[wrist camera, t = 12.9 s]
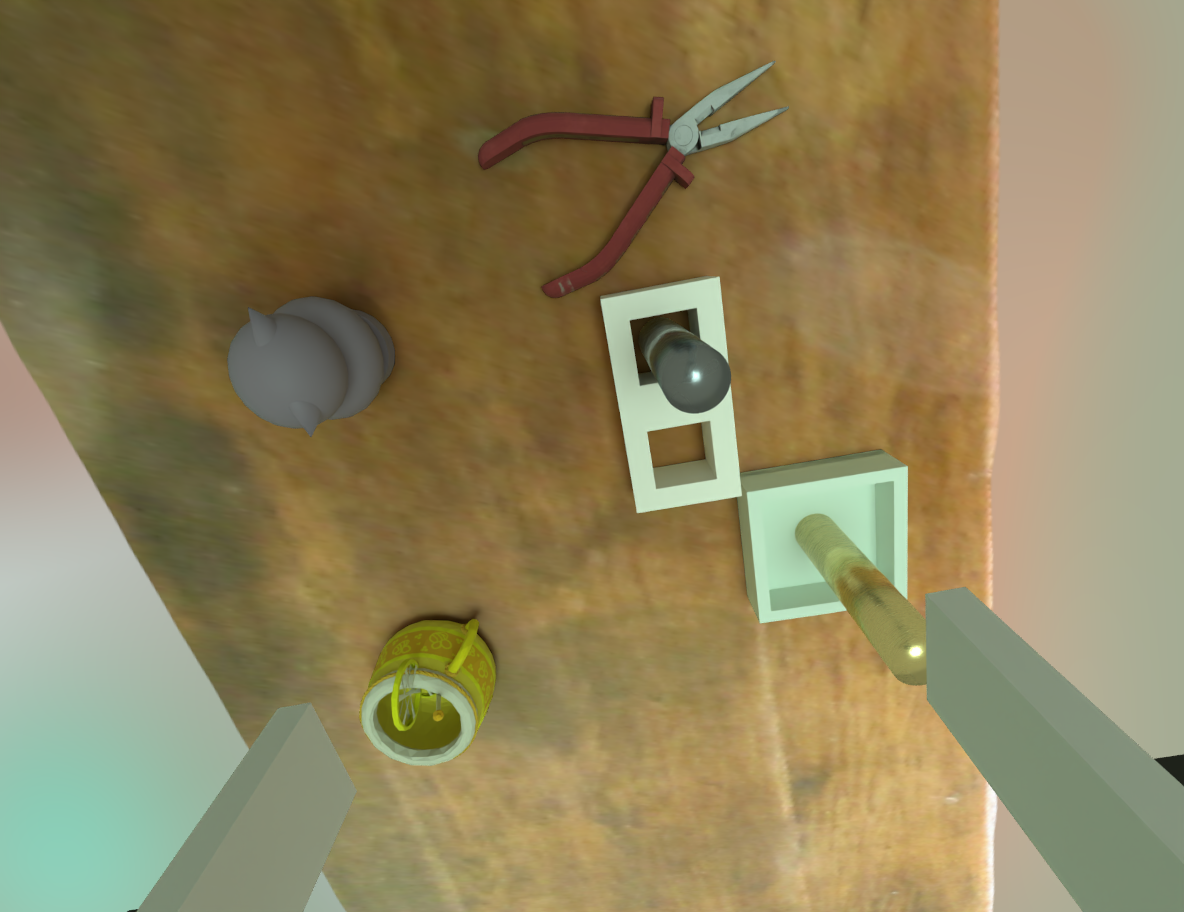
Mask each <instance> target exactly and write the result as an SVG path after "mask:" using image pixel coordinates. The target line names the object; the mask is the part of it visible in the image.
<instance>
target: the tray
mask: <svg viewBox="0 0 1184 912" xmlns="http://www.w3.org/2000/svg"><path fill="white" fill-rule="evenodd" d="M740 482H741V492H742V496H739V497H737V503H738V512H739V522H740V531H741V540H742V550H743V559H744V569H745V578H746V588H747V596H748V598H749V601H750V603H751V605H752V607H753V609H754V612H755V614H756V616H757V618H758V620H759V622H760V623H765V622H772V621H779V620H786V619H793V618H799V617H806V616H813V615H820V614H827V613H834V612H840V611H847V610H846V608H845V607H844V606H843V604H842V603H841V602H840V600H839V599H838V597H837V596H836V595H835V593H834V592H833V591H832V589H831V588H830V586H829V585H828V584H827V582H826V581H825V580H824V578H823V577H822V576H821V574H820V573H819V571H818V570H817V569H816V567H815V566H814V565H813V563H812V562H811V560H810V559H809V558H808V556H807V555H806V554H805V552H804V551H803V549H802V548H801V547H800V545H799V544H798V543H797V541H796V538H795V529H796V527H797V525H798V523H799V522H800V521H801V520H802V519H803V518H805V517H806V516H808V515H811V514H824V515H827V516H828V517H830V518H831V519H832V520H833V521H834V522H835V523H836V524H837V525H838V527H839V528H840V529H841V530H842V531H843V532H844V533H845V534H846V535H847V536H848V537H849V538H850V539H851V540H852V542H853V543H854V544H855V545H856V546H857V547H858V548H859V549H860V550H861V551H862V552H863V553H864V554H865V555H866V557H867V558H868V559H869V560H870V561H871V562H872V563H873V564H874V565H875V566H876V567H877V568H878V569H879V570H880V572H881V573H882V574H883V575H884V576H885V577H886V578H887V579H888V580H889V581H890V582H891V583H892V584H893V585H894V587H895V588H896V589H897V590H898V591H899V592H900V593H901V594H902V595H903V596H904V597H905V598H906V599H907V498H908V466H906V465H905V464H903V463H902V462H900V461H899V460H897V459H896V458H894V457H892V456H891V455H889V454H888V453H886V452H885V451H883V450H875V451H869V452H863V453H857V454H851V455H845V456H839V457H833V458H827V459H820V460H814V461H808V462H802V463H796V464H790V465H784V466H778V467H772V468H766V469H760V470H754V471H748V472H742V473H740Z"/></svg>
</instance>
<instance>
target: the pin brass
mask: <svg viewBox="0 0 1184 912" xmlns="http://www.w3.org/2000/svg"><path fill="white" fill-rule="evenodd" d="M795 538H796V541H797V543H798V544H799V545H800V547H801V548H802V549H803V551H804V552H805V554H806V555H807V556H808V558H809V559H810V560H811V562H812V563H813V565H814V566H815V567H816V569H817V570H818V571H819V573H820V574H821V576H822V577H823V578H824V580H825V581H826V582H827V584H828V585H829V586H830V588H831V589H832V591H833V592H834V593H835V595H836V596H837V597H838V599H839V600H840V602H841V603H842V604H843V606H844V607H845V608H846V610H847V611H848V613H849V614H850V615H851V617H852V618H853V619H854V621H855V622H856V624H857V625H858V626H859V628H860V629H861V630H862V632H863V633H864V634H865V636H866V637H867V639H868V640H869V641H870V643H871V644H872V645H873V647H874V648H875V650H876V651H877V652H878V654H879V655H880V656H881V658H882V659H883V661H884V662H885V663H886V665H887V666H888V667H889V669H890V670H891V672H892V673H893V674H894V676H895V677H896V678H897V679H898V680H899V681H901V682H903V683H905V684H908V685H925V684H927V669H926V620H925V619H924V618H923V617H922V615H921V614H920V613H919V612H918V611H917V610H916V609H915V608H914V607H913V606H912V605H911V604H910V603H909V602H908V600H907V599H906V598H905V597H904V596H903V595H902V594H901V593H900V592H899V591H898V590H897V589H896V588H895V587H894V585H893V584H892V583H891V582H890V581H889V580H888V579H887V578H886V577H885V576H884V575H883V574H882V573H881V572H880V570H879V569H878V568H877V567H876V566H875V565H874V564H873V563H872V562H871V561H870V560H869V559H868V558H867V557H866V555H865V554H864V553H863V552H862V551H861V550H860V549H859V548H858V547H857V546H856V545H855V544H854V543H853V542H852V540H851V539H850V538H849V537H848V536H847V535H846V534H845V533H844V532H843V531H842V530H841V529H840V528H839V527H838V525H837V524H836V523H835V522H834V521H833V520H832V519H831V518H830V517H828V516H827V515H824V514H811V515H808V516H806V517H805V518H803V519H802V520H801V521H800V522H799V523H798V525H797V527H796V529H795Z"/></svg>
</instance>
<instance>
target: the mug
mask: <svg viewBox="0 0 1184 912" xmlns="http://www.w3.org/2000/svg"><path fill="white" fill-rule="evenodd" d="M478 627H479V622H478V620H476V619H472V620H470V621H469V622H468V623H467V624H460V623H456V622H452V621H442V620H424V621H420V622H417V623H414V624H411V625H409V626H407V627H405V628H404V629H402V630H400V631H398V632H397V633H396V634H395V635H394V636H393V637H392V638H391V639H390V640H389V641H388V642H387V644H386V645H385V647H384V648H383V650H382V652H381V653H380V656H379V658H378V661H377V664H376V666H375V669H374V671H373V674H372V677H371V679H370V682H369V686H368V689H367V691H366V692H365V693H364V696H363V697H362V700H361V704H360V711H359V713H360V715H359V718H360V723H361V724H362V728H363V729H364V731H365V734H366V735H367V737H368V738H369V740H370V741H371V742H372V744H373V745H374V746H375V747H376V748H377V749H379V750H380V751H381V752H383V753H384V754H386V755H387V756H388V757H390V758H391V759H394V760H397V761H400V762H403V763H406V764H409V765H430V766H432V765H436V764H439V763H443V762H445V761H449V760H451V759H454V758H456V757H457V756H459V755H461V754H462V753H464V752H465V751H466V750H467V748H468V747H470V745H471V744H472V742H473V740H474V738H475V737H476V734H477V731H478V729H479V727H480V725H481V723H482V720H483V718H484V717H485V714H487V713H486V711H487V710H488V708H489V704H490V702H491V700H492V697H493V695H492V694H493V691H494V686H495V681H496V668H495V662H494V659H493V656H492V654H491V652H490V650H489V648H488V647H487V645H486V643H485V642H484V641H483V640H482V639H481V638H480V637H479V635H478V634H477V630H478ZM487 712H488V711H487Z"/></svg>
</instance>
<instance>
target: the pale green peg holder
mask: <svg viewBox="0 0 1184 912" xmlns="http://www.w3.org/2000/svg"><path fill="white" fill-rule="evenodd" d="M600 300H601V306H602V312H603V317H604V323H605V329H606V335H607V341H608V346H609V352H610V358H611V364H612V370H613V375H614V381H615V387H616V393H617V399H618V404H619V410H620V416H621V422H622V428H623V434H624V439H625V445H626V451H627V457H628V463H629V468H630V474H631V480H632V486H633V492H634V497H635V503H636V509H637V513H641V512H647V511H653V510H660V509H666V508H672V507H678V506H684V505H690V504H696V503H703V502H709V501H715V500H721V499H727V498H733V497H739V496H742V492H741V482H740V472H739V462H738V453H737V443H736V433H735V423H734V414H733V404H732V394H731V385H730V387H729V390H728V392H727V394H726V396H725V398H724V399H723V400H722V401H721V402H720V403H719V404H718V405H717V406H716V407H714V408H713V409H711V410H709V411H706V412H703V413H697V414H691V413H686V412H682V411H680V410H678V409H676V408H675V407H674V406H672V405H671V404H670V403H669V402H668V400H667V399H666V397H665V395H664V393H663V391H662V389H661V388H660V386H659V384H658V382H657V380H656V378H655V376H654V374H653V372H646V373H640V374H638V371H637V365H636V359H635V352H634V346H633V340H632V333H631V327H630V321H629V320H634V319H639V318H645V317H650V316H655V315H661V314H666V313H671V312H677V311H682V310H687V311H688V319H689V327H690V332H691V333H692V334H694V335H695V336H696V337H698V338H699V339H701V340H702V341H704V342H705V343H707V344H708V345H710V346H711V347H712V348H714V349H715V350H717V351H718V352H719V353H721V354H722V355H723V356H724V358H725V359H726V361H727V363H728V355H727V346H726V336H725V326H724V316H723V307H722V297H721V287H720V277H715V276H703V277H698V278H693V279H688V280H682V281H677V282H672V283H667V284H662V285H656V286H651V287H646V288H641V289H635V290H630V291H625V292H620V293H614V294H609V295H604V296H600ZM699 422H701V425H702V433H703V441H704V449H705V457H706V459H704V460H698V461H692V462H686V463H680V464H674V465H668V466H662V467H657V468H653V467H652V460H651V454H650V448H649V441H648V435H647V431H653V430H659V429H665V428H671V427H676V426H682V425H688V424H694V423H699Z"/></svg>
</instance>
